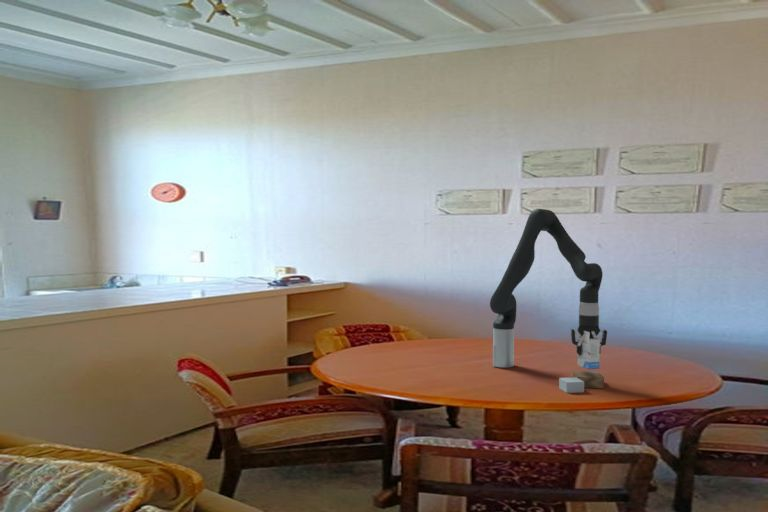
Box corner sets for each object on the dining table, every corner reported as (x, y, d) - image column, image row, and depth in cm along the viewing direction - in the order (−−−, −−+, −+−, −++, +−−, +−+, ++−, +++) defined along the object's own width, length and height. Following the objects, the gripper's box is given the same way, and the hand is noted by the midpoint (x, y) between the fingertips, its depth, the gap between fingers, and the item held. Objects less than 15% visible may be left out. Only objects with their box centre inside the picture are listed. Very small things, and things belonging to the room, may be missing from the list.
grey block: (566, 392, 230) (566, 382, 230) (559, 388, 237) (559, 377, 237) (584, 392, 231) (584, 381, 231) (576, 387, 238) (576, 377, 238)
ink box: (600, 369, 239) (600, 331, 239) (588, 369, 238) (589, 332, 237) (587, 364, 247) (588, 328, 247) (576, 365, 246) (577, 328, 246)
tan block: (577, 387, 239) (577, 376, 239) (573, 380, 249) (573, 371, 249) (603, 387, 237) (604, 377, 237) (598, 381, 247) (598, 371, 247)
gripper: (571, 314, 239) (571, 356, 240) (609, 315, 237) (609, 357, 238) (568, 312, 247) (568, 353, 247) (605, 312, 244) (605, 353, 245)
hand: (588, 355), depth 243 cm, fingers closed on ink box, 6 cm apart
